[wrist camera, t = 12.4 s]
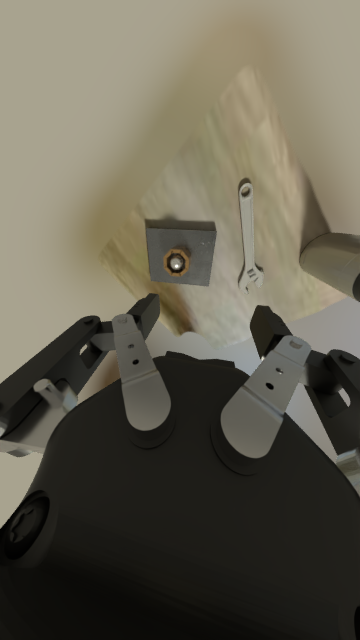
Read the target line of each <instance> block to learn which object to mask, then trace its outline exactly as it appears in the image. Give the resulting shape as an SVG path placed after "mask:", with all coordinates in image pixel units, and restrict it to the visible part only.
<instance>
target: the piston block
mask: <svg viewBox="0 0 360 640" xmlns="http://www.w3.org/2000/svg"><path fill="white" fill-rule="evenodd" d="M146 233H147V244H148V255H149V266H150V276H151V281H158V282H168V283H179V284H189V285H200V286H209V280H210V273H211V267H212V260H213V253H214V246H215V240H216V233H217V231H211V230H188V229H164V228H146ZM175 246H181V247H186V249H187V250H188V251H189V252H190V254H191V266H190V268H189V270H188V271H187V272H186V273H184V274H183V275H182V276H181V277H178V276H171V275H170V274H169V273H168V272H167V271H166V270H165V269H164V259H163V257H164V256H165V255H166V254H167V253H168V252H169V251H170V249H172V248H173V247H175ZM185 263H186V260H185V259H184V258H183V256H182V255H181V254H180V253H173V254H172V255H171V260H170V266H171V267H172V268H173V269H175V270H178V269H180V268H184V267H185Z"/></svg>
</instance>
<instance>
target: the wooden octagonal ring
mask: <svg viewBox="0 0 360 640" xmlns="http://www.w3.org/2000/svg"><path fill="white" fill-rule="evenodd" d="M173 253H180V254H181V255H182V256H183V258H184V259H185V260H186V263H185V267H184V268H180V269H178V270H175V269H173V268H172V267H171V266H170V260H171V255H172V254H173ZM163 259H164V269H165V270H166V271H167V272H168V273H169V274H170V275H171V276H178V277H181V276H182V275H183V274H184V273H186V272H187V271H188V270H189V268H190V266H191V254H190V252H189V251H188V250H187V249H186V247H181V246H175V247H173V248H172V249H170V251H169V252H168V253H167V254H166V255H165V256H164V257H163Z"/></svg>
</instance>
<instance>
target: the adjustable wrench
mask: <svg viewBox="0 0 360 640" xmlns="http://www.w3.org/2000/svg"><path fill="white" fill-rule="evenodd" d="M244 187H249V190H250V191H249V194H248V195H247V196H246V197H243V196H242V194H241V192H242V189H243V188H244ZM239 202H240V214H241V225H242V237H243V248H244V260H245V266H244V270H243V273H242V276H241V278H240V280H239V288H240V290H241V292H243V293H244V294H249V293H248V291H247V289H246V288H245V287H246V286H247V284H248V283H249V282H251V281H254V282H255V284H256V285H257V287H258V288H260V287H261V286H262V283H263V274H264V273H263V271H262V269H261V270H260V271H259V270H258V269H257V268H256V266H255V263H254V227H253V188H252V185H251V184H250V183H245V184H244V185H243V186H242V187H241V188H240V190H239ZM250 270H251V271H250ZM247 271H248V272H247ZM250 275H251V276H250Z"/></svg>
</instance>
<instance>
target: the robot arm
mask: <svg viewBox="0 0 360 640" xmlns="http://www.w3.org/2000/svg"><path fill="white" fill-rule="evenodd" d="M300 266H301V268H302V269H303V270H304V271H305V272H307V273H308V274H310V275H312V276H314V277H315V278H317V279H319V280H321V281H323V282H324V283H326V284H328V285H330V286H331V287H333V288H335V289H337V290H339V291H340V292H342V293H344V294H346V295H348V296H350V297H351V298H353V299H355V300H357V301H359V302H360V235H352V234H343V233H327V234H324V235H321V236H319V237H317V238H316V239H314V240H313V241H312V242H310V243H309V244H308V245H307V246H306V248H305V249H304V250H303V252H302V254H301V257H300ZM159 315H160V302H159V295H158V294H152V293H149V294H148V295H147V297H146V298H143V299H141V300H139V301H138V302H137V303H136V304H135V305H134V306H133V307H132V308H131V309H130V310H129V311H128V312H127V313H126V314H120V315H117V316H115V317H114V318H113V319H112V321H106V322H101V321H100V318H99V317H98V316H87V317H84V318H81V319H80V320H79V321H77V322H76V323H75V324H74V325H72V326H71V327H70V328H69V329H67V330H66V331H65V332H64V333H62V334H61V335H60V336H59V337H57V338H56V339H55V340H54V341H52V342H51V343H50V344H49V345H48V346H46V347H45V348H44V349H43V350H41V351H40V352H39V353H38V354H36V355H35V356H34V357H33V358H31V359H30V360H29V361H28V362H27V363H25V364H24V365H23V366H22V367H20V368H19V369H18V370H17V371H16V372H14V373H13V374H12V375H10V376H9V377H8V378H7V379H6V380H5V381H3V382H2V383H1V384H0V452H6V453H9V454H11V455H13V456H16V457H23V456H26V455H28V454H30V453H32V452H38V453H43V454H44V455H43V458H42V461H41V463H40V466H39V468H38V471H37V473H36V475H35V478H34V480H33V482H32V484H31V486H30V488H29V490H28V492H27V493H26V495H25V497H24V499H23V500H22V502H21V503H20V505H19V506H18V508H17V509H16V510H15V512H14V513H13V514H12V515H11V517H10V518H9V519H8V520H7V522H6V523H5V524H4V525H3V526H2V528H1V529H0V640H360V359H358V358H357V357H355V356H354V355H352V354H350V353H347V352H345V351H342V350H336V349H333V350H331V351H330V352H329V353H328V354H327V355H326V354H323V353H320V352H317V351H313V350H311V346H310V345H309V344H308V343H307V342H306V341H304V340H302V339H301V338H298V337H296V336H293V335H292V333H291V332H290V330H289V329H288V328H287V326H286V325H285V323H284V322H283V320H282V319H281V317H279V316H278V315H277V314H275V313H273V312H272V310H271V309H270V307H269V306H261V305H258V306H257V307H256V309H255V311H254V314H253V317H252V319H251V322H250V330H251V333H252V336H253V339H254V342H255V345H256V348H257V351H258V354H259V357H260V359H261V360H263V361H262V363H261V364H260V365H259V366H258V368H257V369H256V370H255V371H254V373H253V374H252V375H251V376H249V375H248V374H246V373H245V372H243V371H241V370H239V369H237V368H235V364H234V362H232V361H226V360H219V359H206V360H198V359H196V358H193V357H191V356H188V355H185V354H182V353H177V352H171V351H167V352H166V355H165V356H159V357H156V358H153V359H152V357H151V355H150V353H149V350H148V348H147V345H146V343H145V340H146V338H147V337H148V335H149V333H150V331H151V330H152V328H153V326H154V324H155V323H156V321H157V319H158V317H159ZM85 344H86V345H87V348H86V349H85V350H84V351H83V353H82V354H81V355H80V350H81V349H82V347H83V346H84V345H85ZM110 350H116V353H117V359H118V365H119V370H120V376H121V378H120V379H118V380H116V381H115V382H113V383H112V384H110V385H108V386H107V387H105V388H104V389H102V390H100V391H99V392H97V393H96V394H94V395H93V396H91V397H89V398H88V399H86V400H85V401H83V402H82V403H80V404H78V405H77V402H78V396H77V395H78V394H79V392H80V391H81V390H82V388H83V387H84V385H85V384H86V383H87V381H88V380H89V378H90V377H91V376H92V374H93V373H94V371H95V370H96V369H97V367H98V366H99V364H100V363H101V362H102V360H103V359H104V357H105V356H106V355H107V353H108V352H109V351H110ZM298 382H299V383H301V384H304V386H305V389H306V391H307V393H308V395H309V397H310V399H311V401H312V403H313V406H314V408H315V409H316V411H317V414H318V416H319V418H320V420H321V422H322V424H323V426H324V428H325V430H326V433H327V434H328V437H329V439H330V440H331V443H332V445H333V447H334V449H335V451H336V453H337V455H338V457H337V459H336V464H335V463H334V462H333V461H332V460H331V459H330V458H329V457H328V456H327V455H326V454H325V453H324V452H323V451H322V450H321V449H320V448H319V447H318V446H317V445H316V444H315V443H314V442H313V441H312V439H311V438H310V437H309V436H308V435H307V434H306V433H305V432H304V431H303V430H302V429H301V428H300V427H299V426H298V425H297V424H296V423H295V422H294V421H293V420H292V419H291V418H290V417H289V416H288V415H287V413H286V412H285V410H286V408H287V406H288V404H289V401H290V399H291V397H292V395H293V393H294V391H295V389H296V386H297V384H298ZM342 388H343V389H344V390H345V391H346V393H347V394H348V396H349V398H350V401H351V402H350V406H349V407H348V406H347V405H346V403H345V402H344V400H343V399H342V397H341V396H340V394H339V393H338V391H339V390H341V389H342ZM76 405H77V406H76Z"/></svg>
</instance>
